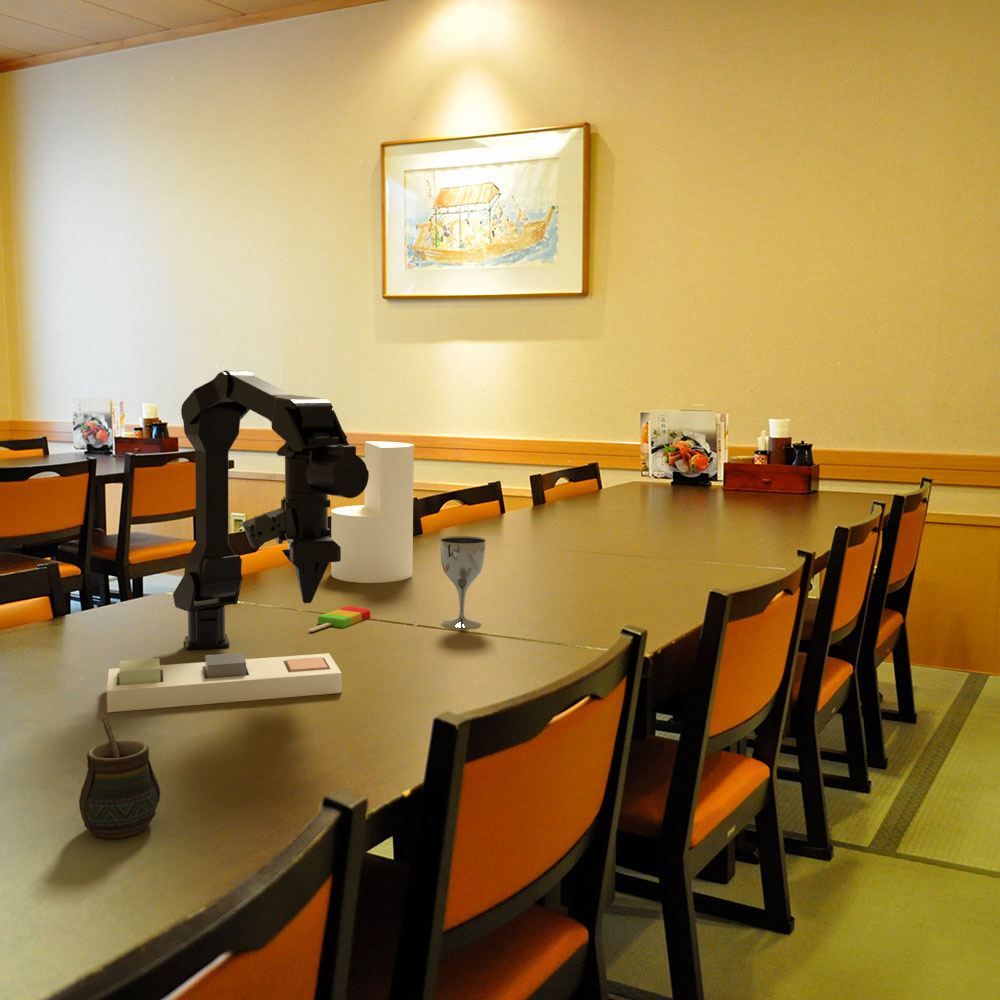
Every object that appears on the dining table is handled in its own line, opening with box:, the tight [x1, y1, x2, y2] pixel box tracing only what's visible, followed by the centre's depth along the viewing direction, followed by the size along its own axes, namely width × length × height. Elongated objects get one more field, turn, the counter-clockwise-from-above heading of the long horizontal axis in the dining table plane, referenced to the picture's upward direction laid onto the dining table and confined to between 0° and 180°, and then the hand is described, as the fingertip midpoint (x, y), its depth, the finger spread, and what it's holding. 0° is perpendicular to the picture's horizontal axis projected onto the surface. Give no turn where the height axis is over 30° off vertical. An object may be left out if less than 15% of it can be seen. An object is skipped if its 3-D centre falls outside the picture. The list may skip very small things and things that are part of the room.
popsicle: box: [308, 606, 371, 633], centre depth 178 cm, size 6×15×2 cm, turn 154°
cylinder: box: [330, 440, 415, 584], centre depth 219 cm, size 17×17×28 cm
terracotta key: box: [286, 657, 328, 672], centre depth 144 cm, size 5×5×2 cm
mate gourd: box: [78, 717, 161, 840], centre depth 98 cm, size 7×8×10 cm
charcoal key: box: [204, 652, 246, 679], centre depth 140 cm, size 5×5×2 cm
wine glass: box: [439, 535, 487, 630], centre depth 178 cm, size 8×8×15 cm
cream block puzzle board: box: [106, 652, 343, 713], centre depth 140 cm, size 10×30×3 cm, turn 109°
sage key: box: [119, 657, 161, 685], centre depth 136 cm, size 5×5×2 cm
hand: (306, 602), depth 142 cm, fingers closed
